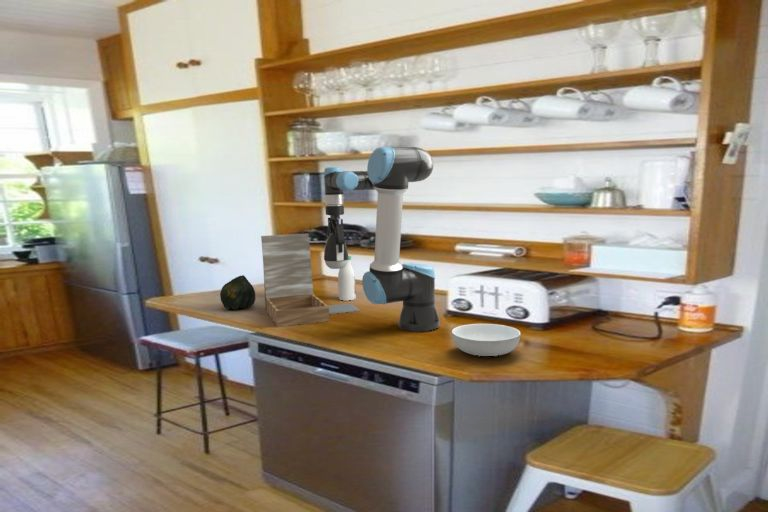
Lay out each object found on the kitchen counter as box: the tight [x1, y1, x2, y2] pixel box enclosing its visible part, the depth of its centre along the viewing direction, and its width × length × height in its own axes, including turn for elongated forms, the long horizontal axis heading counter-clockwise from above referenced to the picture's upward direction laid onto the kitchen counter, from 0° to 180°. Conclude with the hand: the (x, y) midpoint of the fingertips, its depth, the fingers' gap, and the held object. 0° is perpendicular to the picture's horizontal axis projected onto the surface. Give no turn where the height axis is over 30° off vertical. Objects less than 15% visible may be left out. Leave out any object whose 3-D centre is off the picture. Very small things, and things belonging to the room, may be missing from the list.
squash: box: [219, 274, 256, 310], centre depth 242 cm, size 14×15×15 cm
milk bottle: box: [337, 255, 357, 302], centre depth 254 cm, size 8×8×20 cm
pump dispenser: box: [323, 232, 349, 270], centre depth 232 cm, size 10×10×15 cm
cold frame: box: [260, 233, 330, 328], centre depth 225 cm, size 32×20×32 cm, turn 21°
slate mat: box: [327, 302, 361, 315], centre depth 236 cm, size 14×14×1 cm
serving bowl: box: [451, 323, 521, 357], centre depth 172 cm, size 21×21×7 cm
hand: (336, 258), depth 233 cm, fingers closed on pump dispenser, 10 cm apart
